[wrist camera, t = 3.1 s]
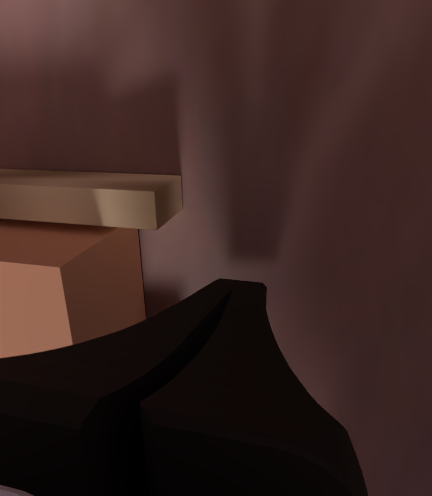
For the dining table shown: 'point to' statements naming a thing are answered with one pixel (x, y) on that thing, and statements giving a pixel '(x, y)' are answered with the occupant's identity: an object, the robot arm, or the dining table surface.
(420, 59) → the dining table surface
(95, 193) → the chute
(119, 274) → the block
